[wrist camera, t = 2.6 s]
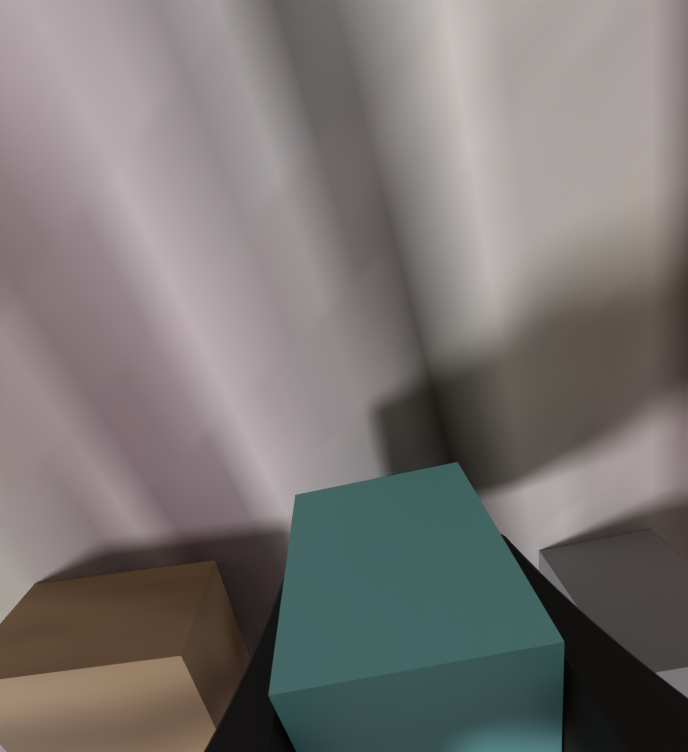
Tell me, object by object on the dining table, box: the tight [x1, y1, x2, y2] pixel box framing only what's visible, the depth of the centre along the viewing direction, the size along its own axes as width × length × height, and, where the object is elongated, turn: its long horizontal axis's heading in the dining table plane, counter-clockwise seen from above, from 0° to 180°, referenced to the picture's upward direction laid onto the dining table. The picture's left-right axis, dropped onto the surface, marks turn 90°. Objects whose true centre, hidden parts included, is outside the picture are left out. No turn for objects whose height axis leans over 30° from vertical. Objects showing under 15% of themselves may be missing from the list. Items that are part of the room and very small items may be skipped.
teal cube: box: [268, 462, 564, 752], centre depth 9 cm, size 5×5×5 cm
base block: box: [0, 560, 250, 752], centre depth 15 cm, size 8×8×4 cm
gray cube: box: [539, 529, 688, 698], centre depth 14 cm, size 5×5×5 cm
